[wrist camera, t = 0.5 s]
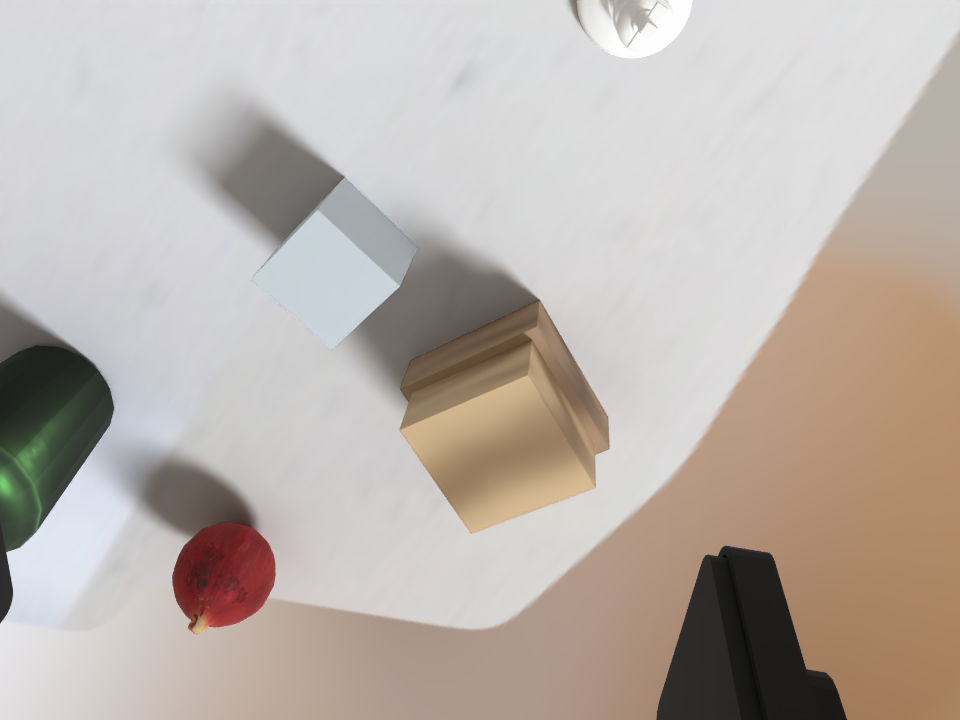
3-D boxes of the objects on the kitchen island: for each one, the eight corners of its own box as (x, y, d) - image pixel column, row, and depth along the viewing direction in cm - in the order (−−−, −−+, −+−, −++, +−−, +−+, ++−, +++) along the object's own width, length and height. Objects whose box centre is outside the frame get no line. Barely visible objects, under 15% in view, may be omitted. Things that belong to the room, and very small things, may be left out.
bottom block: (412, 356, 47) (399, 389, 44) (540, 296, 44) (536, 326, 41) (483, 464, 50) (477, 501, 47) (608, 413, 47) (609, 449, 44)
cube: (283, 241, 44) (250, 279, 40) (345, 176, 42) (317, 209, 38) (355, 306, 46) (331, 350, 41) (418, 246, 43) (400, 286, 39)
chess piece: (717, -23, 36) (758, 6, 27) (646, 79, 38) (663, 135, 30) (621, -92, 35) (632, -85, 26) (554, 17, 37) (545, 56, 29)
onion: (198, 490, 53) (139, 581, 46) (289, 502, 52) (244, 596, 46) (206, 561, 56) (151, 657, 49) (292, 573, 55) (250, 671, 48)
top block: (412, 392, 44) (399, 430, 41) (532, 339, 42) (528, 374, 39) (478, 491, 47) (471, 533, 44) (595, 446, 44) (595, 487, 41)
